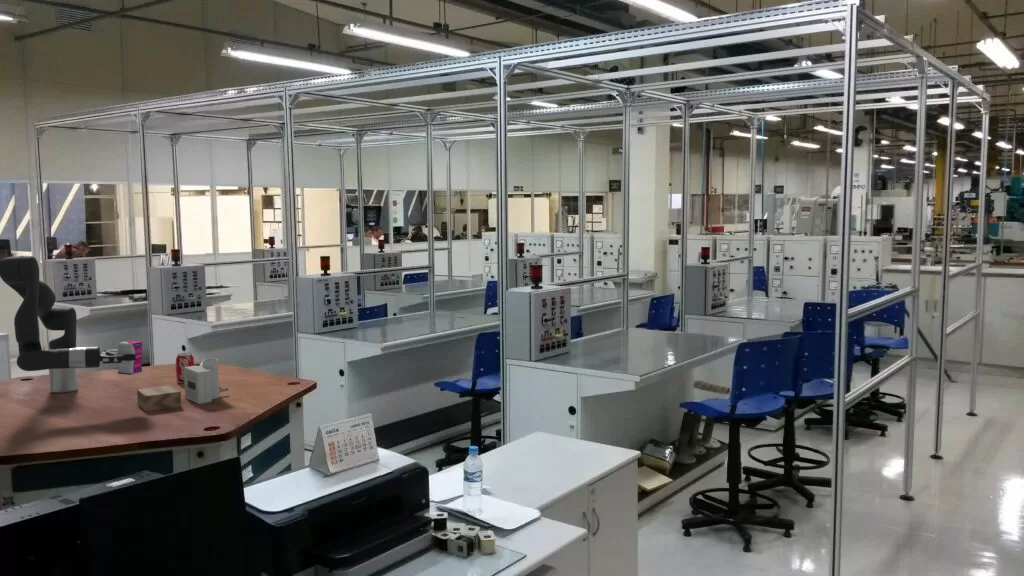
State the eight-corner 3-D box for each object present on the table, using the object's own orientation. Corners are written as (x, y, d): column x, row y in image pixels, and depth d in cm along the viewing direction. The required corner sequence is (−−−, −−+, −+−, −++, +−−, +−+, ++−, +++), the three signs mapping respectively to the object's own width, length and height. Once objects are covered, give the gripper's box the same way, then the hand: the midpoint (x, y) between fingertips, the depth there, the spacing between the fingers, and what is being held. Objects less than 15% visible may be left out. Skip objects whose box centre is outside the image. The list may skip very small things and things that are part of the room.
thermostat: (184, 398, 290) (184, 360, 288) (220, 392, 300) (219, 355, 299) (199, 404, 282) (198, 364, 280) (234, 397, 292) (234, 359, 291)
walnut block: (146, 412, 270) (145, 396, 270) (137, 405, 279) (137, 389, 279) (181, 407, 278) (180, 391, 277) (171, 400, 287) (171, 385, 286)
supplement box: (131, 375, 269) (131, 343, 268) (117, 373, 271) (116, 342, 269) (142, 371, 275) (142, 341, 274) (128, 370, 276) (128, 340, 275)
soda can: (197, 381, 317) (197, 353, 315) (182, 384, 311) (182, 356, 309) (187, 379, 320) (187, 351, 319) (172, 382, 314) (171, 354, 313)
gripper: (82, 350, 259) (135, 348, 266) (85, 343, 272) (135, 341, 279) (83, 372, 260) (135, 369, 267) (86, 363, 273) (136, 361, 280)
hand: (135, 354), depth 273 cm, fingers closed on supplement box, 8 cm apart
